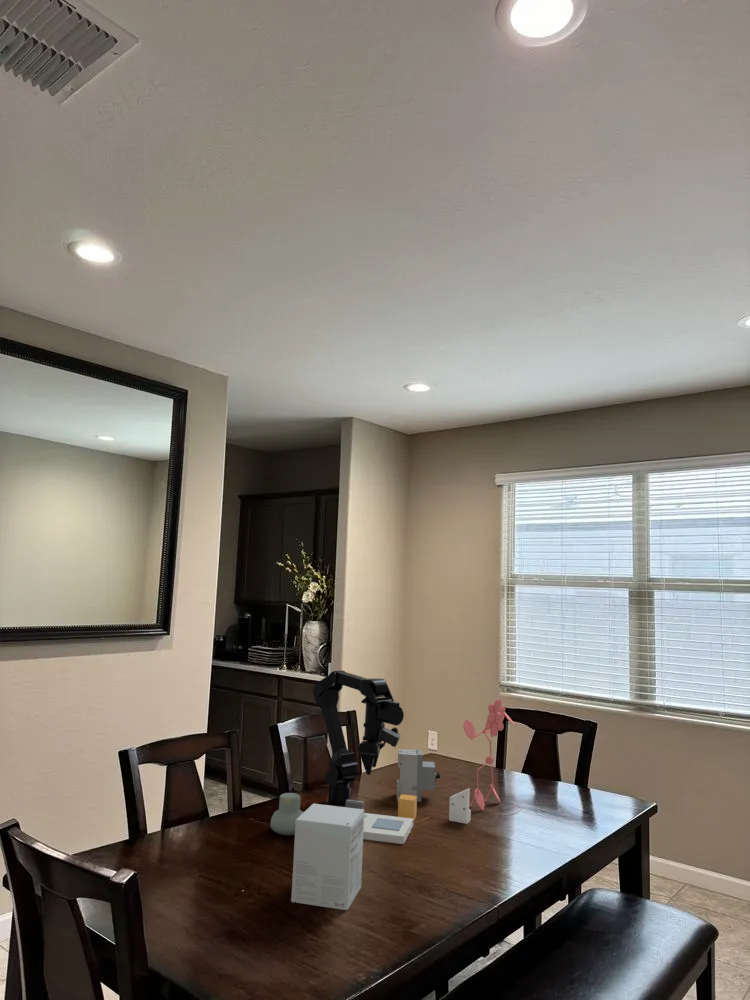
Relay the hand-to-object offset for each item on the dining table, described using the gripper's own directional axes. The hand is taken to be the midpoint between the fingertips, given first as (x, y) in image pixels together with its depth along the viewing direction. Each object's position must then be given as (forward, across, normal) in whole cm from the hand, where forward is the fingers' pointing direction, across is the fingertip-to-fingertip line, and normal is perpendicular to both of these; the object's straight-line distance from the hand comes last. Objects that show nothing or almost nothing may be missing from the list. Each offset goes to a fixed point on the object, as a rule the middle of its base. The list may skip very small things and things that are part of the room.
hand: (371, 770), depth 215 cm
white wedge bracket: (+13, +3, -28) cm, 31 cm away
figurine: (+13, +18, -39) cm, 45 cm away
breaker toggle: (+11, -9, +3) cm, 14 cm away
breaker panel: (+13, -14, -4) cm, 19 cm away
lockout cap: (+13, +1, -12) cm, 18 cm away
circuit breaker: (+13, +22, -13) cm, 28 cm away
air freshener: (+13, -23, +19) cm, 33 cm away
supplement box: (+13, -59, -1) cm, 60 cm away
